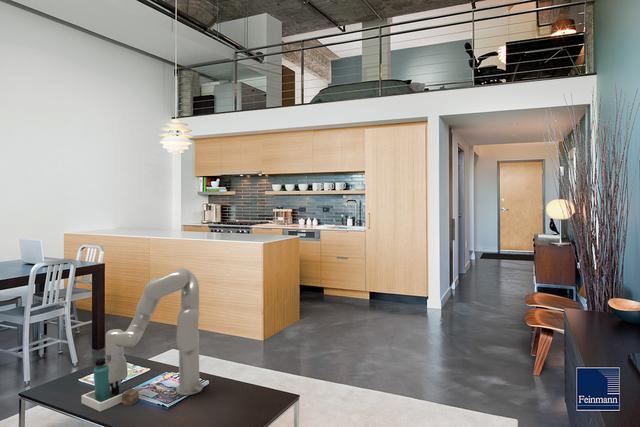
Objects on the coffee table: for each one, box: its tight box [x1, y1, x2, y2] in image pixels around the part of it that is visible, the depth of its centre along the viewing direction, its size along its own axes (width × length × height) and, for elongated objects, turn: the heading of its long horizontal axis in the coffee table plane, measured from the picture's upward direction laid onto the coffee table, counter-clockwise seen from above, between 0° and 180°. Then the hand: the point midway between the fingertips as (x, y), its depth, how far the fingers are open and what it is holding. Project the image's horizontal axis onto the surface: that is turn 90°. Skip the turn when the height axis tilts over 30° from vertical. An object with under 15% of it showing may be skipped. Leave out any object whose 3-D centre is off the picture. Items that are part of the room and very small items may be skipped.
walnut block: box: [121, 388, 140, 406], centre depth 194 cm, size 5×5×5 cm
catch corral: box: [80, 388, 122, 413], centre depth 195 cm, size 15×15×4 cm
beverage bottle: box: [93, 357, 112, 402], centre depth 193 cm, size 6×7×20 cm
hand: (115, 394), depth 199 cm, fingers closed
